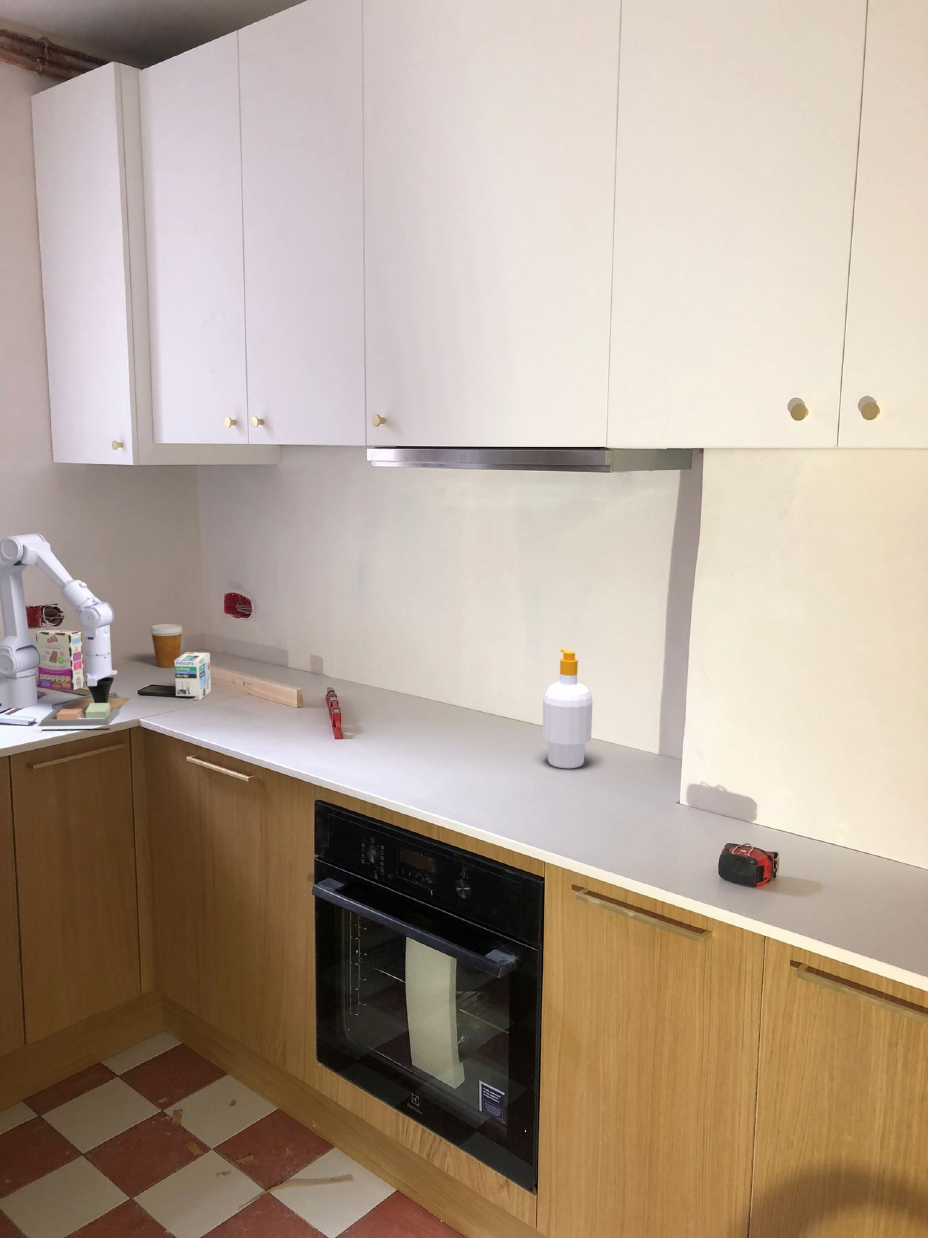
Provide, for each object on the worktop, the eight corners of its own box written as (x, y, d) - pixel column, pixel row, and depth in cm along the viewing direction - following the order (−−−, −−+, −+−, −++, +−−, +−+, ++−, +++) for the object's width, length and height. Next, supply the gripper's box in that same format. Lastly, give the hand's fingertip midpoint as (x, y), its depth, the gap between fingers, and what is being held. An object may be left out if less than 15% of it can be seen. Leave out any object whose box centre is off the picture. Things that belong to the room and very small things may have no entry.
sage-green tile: (86, 721, 234) (85, 711, 233) (91, 712, 238) (90, 703, 237) (106, 720, 234) (105, 711, 234) (110, 712, 239) (109, 703, 238)
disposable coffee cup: (149, 663, 298) (148, 624, 296) (182, 661, 302) (180, 622, 300) (153, 670, 290) (151, 630, 288) (186, 667, 294) (185, 628, 291)
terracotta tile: (57, 724, 231) (56, 714, 231) (63, 719, 235) (62, 709, 235) (77, 724, 231) (76, 713, 231) (82, 718, 236) (81, 708, 235)
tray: (41, 731, 227) (41, 720, 226) (56, 718, 237) (55, 708, 237) (108, 730, 228) (107, 719, 228) (119, 717, 239) (119, 707, 238)
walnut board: (60, 718, 237) (59, 713, 237) (77, 703, 251) (77, 698, 251) (115, 718, 238) (115, 713, 238) (129, 702, 253) (129, 698, 252)
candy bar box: (85, 690, 265) (82, 630, 262) (73, 694, 260) (69, 633, 258) (51, 686, 268) (47, 627, 266) (38, 691, 264) (34, 631, 261)
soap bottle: (576, 754, 214) (579, 646, 210) (599, 768, 205) (603, 655, 201) (533, 759, 211) (536, 649, 206) (554, 773, 201) (558, 658, 197)
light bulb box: (200, 700, 256) (199, 660, 254) (175, 700, 256) (173, 660, 254) (211, 690, 266) (210, 651, 264) (187, 690, 266) (185, 651, 264)
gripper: (107, 659, 230) (110, 715, 232) (122, 647, 244) (125, 700, 246) (76, 660, 229) (80, 716, 231) (93, 647, 243) (96, 700, 246)
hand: (101, 708), depth 239 cm, fingers closed
